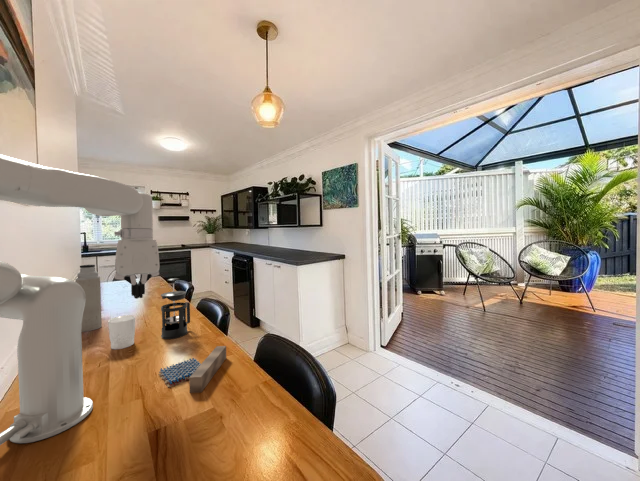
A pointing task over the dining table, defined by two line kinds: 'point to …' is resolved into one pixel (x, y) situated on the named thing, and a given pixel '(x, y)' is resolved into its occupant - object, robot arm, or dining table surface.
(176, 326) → the french press
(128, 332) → the white cup
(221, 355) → the bar
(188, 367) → the woven mat
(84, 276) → the thermos bottle
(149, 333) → the dining table surface
